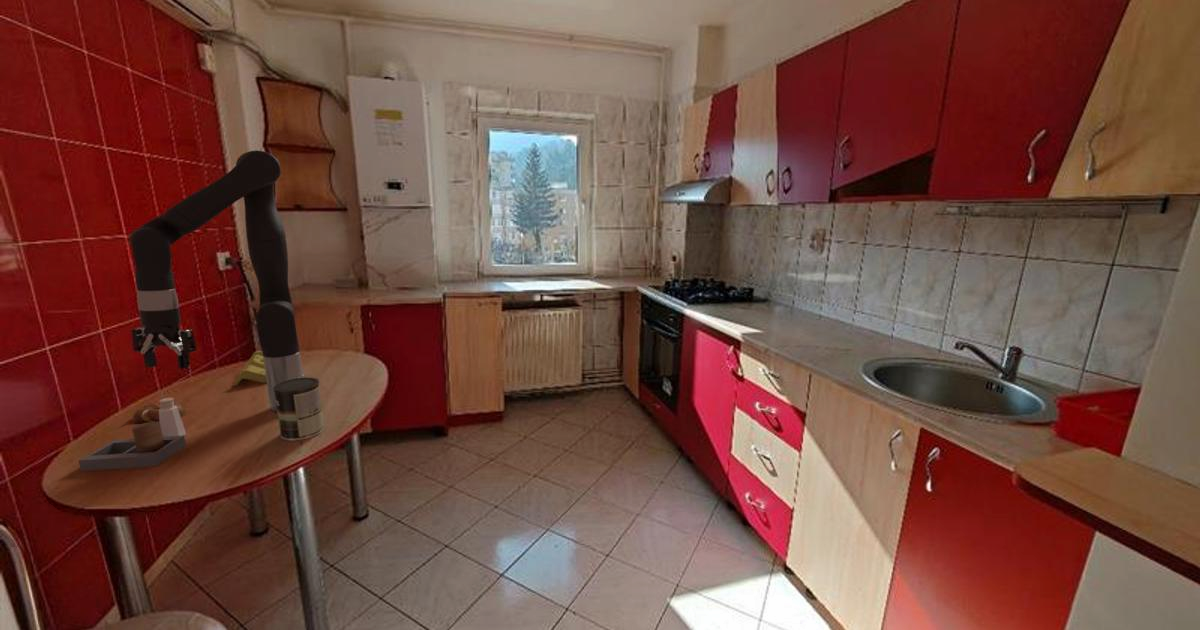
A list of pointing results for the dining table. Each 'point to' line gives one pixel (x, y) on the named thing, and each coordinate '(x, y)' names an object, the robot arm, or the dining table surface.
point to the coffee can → (299, 408)
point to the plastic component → (253, 369)
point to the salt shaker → (170, 419)
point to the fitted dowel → (148, 437)
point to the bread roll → (152, 413)
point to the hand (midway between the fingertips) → (167, 367)
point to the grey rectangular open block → (129, 455)
